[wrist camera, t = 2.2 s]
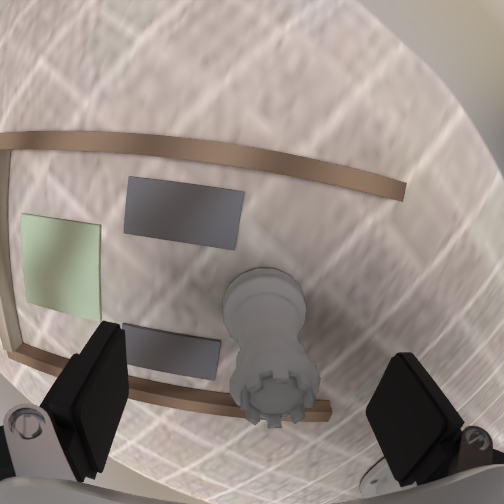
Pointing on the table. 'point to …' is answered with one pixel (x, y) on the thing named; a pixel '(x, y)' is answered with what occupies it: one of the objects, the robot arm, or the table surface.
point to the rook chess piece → (269, 347)
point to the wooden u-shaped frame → (155, 226)
